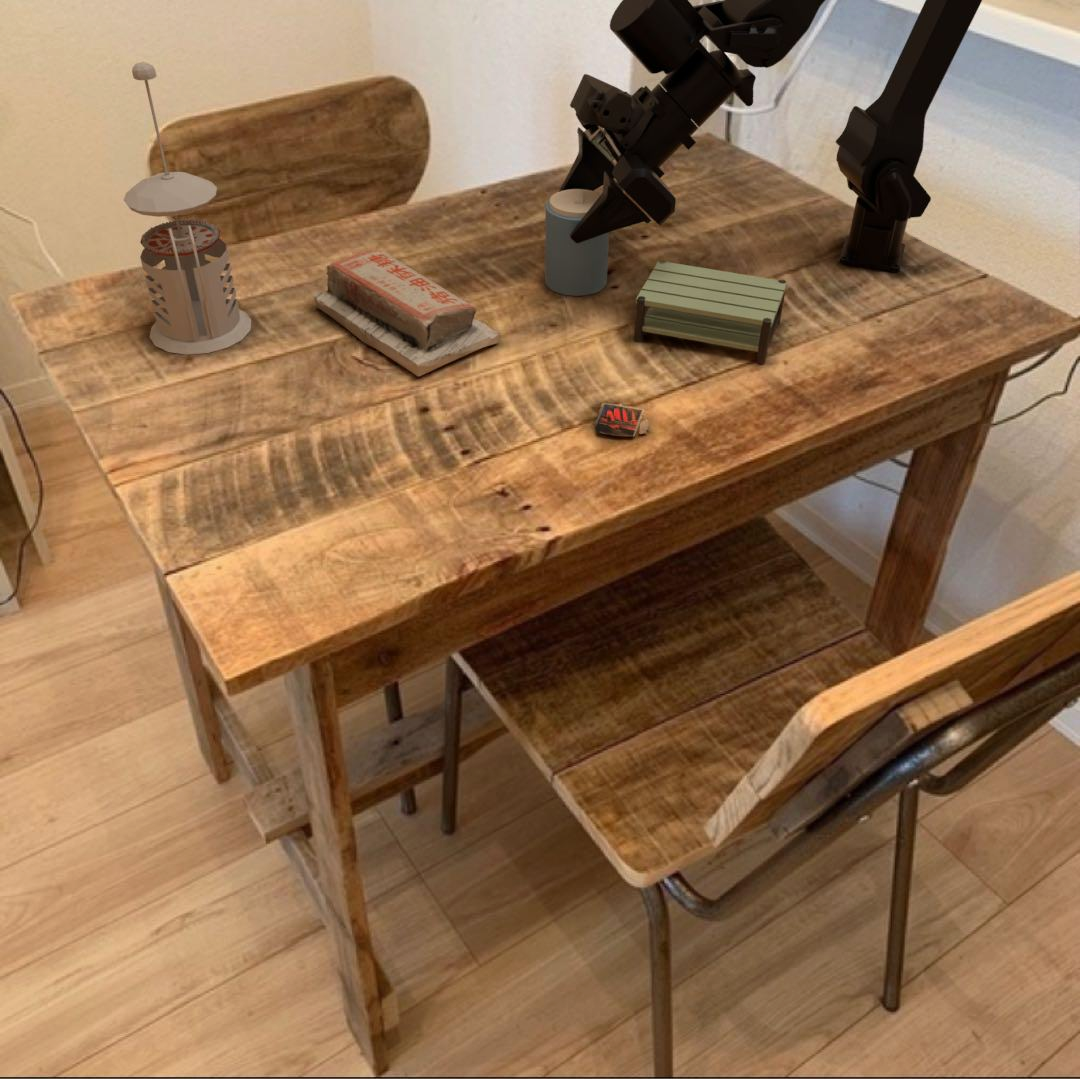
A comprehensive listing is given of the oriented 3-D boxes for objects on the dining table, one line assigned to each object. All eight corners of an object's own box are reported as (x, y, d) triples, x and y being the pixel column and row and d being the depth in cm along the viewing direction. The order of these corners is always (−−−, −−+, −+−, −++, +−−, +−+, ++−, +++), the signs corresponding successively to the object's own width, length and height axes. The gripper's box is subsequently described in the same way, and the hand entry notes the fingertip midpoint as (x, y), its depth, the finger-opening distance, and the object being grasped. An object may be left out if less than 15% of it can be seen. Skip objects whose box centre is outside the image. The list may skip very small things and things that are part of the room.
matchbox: (595, 437, 92) (596, 433, 91) (594, 404, 95) (594, 400, 95) (650, 438, 92) (650, 434, 91) (646, 405, 95) (646, 401, 95)
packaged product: (305, 264, 105) (388, 236, 110) (312, 308, 109) (392, 279, 114) (414, 334, 95) (500, 299, 100) (418, 380, 98) (501, 344, 103)
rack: (655, 299, 111) (658, 259, 108) (780, 321, 107) (788, 280, 104) (632, 341, 104) (635, 299, 101) (764, 365, 101) (772, 323, 98)
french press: (243, 297, 110) (195, 40, 94) (262, 353, 102) (212, 81, 86) (144, 313, 107) (76, 51, 91) (156, 371, 99) (83, 94, 83)
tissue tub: (556, 263, 117) (557, 179, 111) (614, 272, 115) (619, 188, 109) (536, 290, 112) (536, 204, 106) (596, 300, 110) (600, 214, 104)
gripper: (601, 18, 106) (493, 137, 111) (652, 78, 92) (526, 210, 97) (671, 95, 112) (565, 204, 118) (728, 163, 98) (605, 282, 104)
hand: (564, 222), depth 109 cm, fingers open, 8 cm apart
